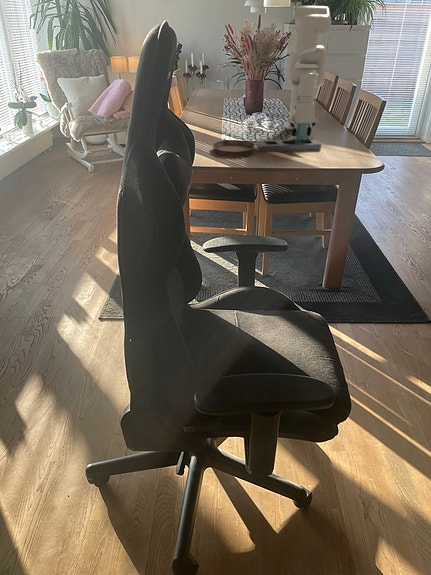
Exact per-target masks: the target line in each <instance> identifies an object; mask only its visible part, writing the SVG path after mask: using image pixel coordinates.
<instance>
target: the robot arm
mask: <svg viewBox="0 0 431 575" xmlns="http://www.w3.org/2000/svg"><path fill="white" fill-rule="evenodd" d="M294 25H295V29H296V34H297V36H296V37H297V38H296V51H295V53H294V54H293V55H292V57H291V59H290V63H289V70H288V82H289V85H291V95H290V105H289V116H288V117H289V118H287V121H286V122H288V123H287V124H285V128H286V129H287V130H291V133H292V136H293V137H294V138H296V134H297V125H298V124H308V126H307V134H306V137H307V136H308V137H310V136H311V134H312V129H313V128H314V126H315V125H316V124H317V123H318V122H319V119H318V118H317V117H316V116H315V107H316V106H315V102H314V94H315V88H320V87H322V86H323V85H324V83H325V82H324V80H325V74H326V63H327V62H326V61H327V49H326V47H325V46H324V45H319V44H318V35H328V34H329V33H330V30H331V27H332V26H331V25H332V17H331V10H330V8H329V7H328V6H327V5H326V6H325V5H300V6H297V8H296V9H295V10H294ZM296 64H298V65H301V66H315V67H301V66H300V67H296Z"/></svg>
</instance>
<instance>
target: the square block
mask: <svg viewBox="0 0 431 575" xmlns="http://www.w3.org/2000/svg"><path fill="white" fill-rule="evenodd" d="M307 126H308V124H298V125H297V131H296V137H295V139H307Z"/></svg>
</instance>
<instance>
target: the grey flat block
mask: <svg viewBox="0 0 431 575" xmlns="http://www.w3.org/2000/svg"><path fill="white" fill-rule="evenodd" d="M255 148H257V149H258V150H259V152H260V153H275V152H276V153H277V152H278V153H280V152H281V153H283V152H284V153H285V152H313V151H314V152H316V151H321V148H322V143H320V142H319V141H318V140H316V138H306V139H296V138H295V139H270V140H269V139H267V140H266V139H265V140H263V139H262V140H256V144H255Z"/></svg>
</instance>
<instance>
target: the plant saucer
mask: <svg viewBox="0 0 431 575" xmlns="http://www.w3.org/2000/svg"><path fill="white" fill-rule="evenodd" d="M212 148H213V149H214V151H215V152H216V153H217V154H219V155H222V156H225V157H226V156H228V157H242V156H243V157H244V156H246V155H249V154H250V153H252V152H253V151H254V150H255V148H256V144H254V142H251V141H248V140H247V141H246V140H240V139H230V140H229V139H227V140H219V141H216V142H214V143H213V144H212Z"/></svg>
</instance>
